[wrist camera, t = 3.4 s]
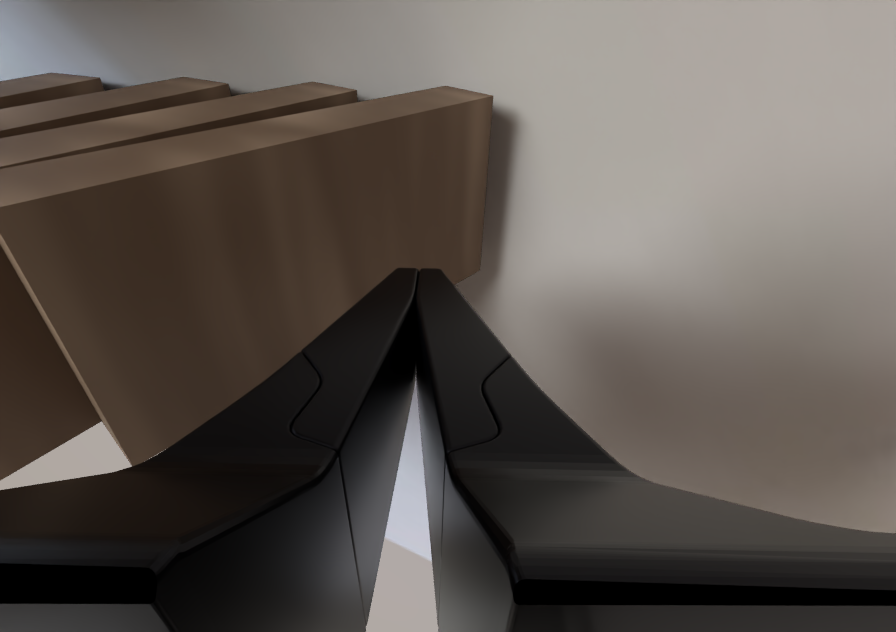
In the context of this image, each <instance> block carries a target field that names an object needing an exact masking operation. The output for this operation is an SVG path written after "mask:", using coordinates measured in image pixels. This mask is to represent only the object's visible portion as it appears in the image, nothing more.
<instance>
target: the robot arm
mask: <svg viewBox="0 0 896 632" xmlns="http://www.w3.org/2000/svg"><path fill="white" fill-rule="evenodd" d="M415 377H416V381H417V396H418V407H419V418H420V430H421V441H422V452H423V463H424V475H425V486H426V497H427V509H428V520H429V531H430V542H431V554H432V565H433V575H434V587H435V598H436V610H437V620H438V627H439V629H438V632H896V533H879V532H868V531H861V530H854V529H847V528H841V527H835V526H829V525H824V524H818V523H814V522H809V521H804V520H799V519H795V518H791V517H787V516H783V515H779V514H775V513H771V512H767V511H763V510H759V509H755V508H751V507H747V506H743V505H739V504H735V503H731V502H727V501H723V500H719V499H715V498H711V497H707V496H703V495H699V494H695V493H691V492H687V491H683V490H680V489H676V488H672V487H668V486H664V485H660V484H656V483H653V482H650V481H648V480H646V479H643V478H641V477H639V476H637V475H636V474H634V473H632V472H631V471H629V470H628V469H626V468H625V467H624V466H622V465H621V464H620V463H619V462H617V461H616V460H615V459H614V458H613V457H612V456H610V455H609V454H608V453H607V452H606V451H605V450H604V449H603V448H602V447H601V446H600V445H599V444H598V443H597V442H595V441H594V440H593V439H592V438H591V437H590V436H589V435H588V434H587V433H586V432H585V431H584V430H583V429H582V428H581V427H579V426H578V425H577V424H576V423H575V422H574V421H573V420H572V419H571V418H570V417H569V416H568V415H567V414H566V413H565V412H563V411H562V410H561V409H560V408H559V407H558V406H557V405H556V404H555V403H554V402H553V401H552V400H551V399H550V398H549V397H548V396H547V395H546V394H545V393H544V392H543V391H542V390H541V389H540V388H539V387H538V386H537V385H536V384H535V382H534V381H533V380H532V379H531V378H530V377H529V376H528V374H527V373H526V372H525V371H524V370H523V369H522V368H521V366H520V365H519V364H518V363H517V361H516V360H515V359H514V358H513V357H512V356H511V354H510V353H509V352H508V351H507V349H506V348H505V347H504V346H503V344H502V343H501V342H500V341H499V339H498V338H497V337H496V336H495V335H494V333H493V332H492V331H491V330H490V328H489V327H488V326H487V325H486V324H485V322H484V321H483V320H482V319H481V317H480V316H479V315H478V314H477V312H476V311H475V310H474V309H473V308H472V306H471V305H470V304H469V303H468V301H467V300H466V299H465V298H464V297H463V295H462V294H461V293H460V292H459V290H458V289H457V288H456V287H455V286H454V284H453V283H452V282H451V281H450V279H449V278H448V277H447V276H446V274H445V273H444V272H443V271H442V270H441V269H438V268H422V269H420V271H419V270H418V269H417V268H401V267H400V268H397V269H395V270H394V271H393V272H392V273H391V274H389V275H388V276H387V277H386V278H385V279H384V280H382V281H381V282H380V283H379V284H378V285H377V286H375V287H374V288H373V289H372V290H371V291H370V292H368V293H367V294H366V295H365V296H364V297H363V298H361V299H360V300H359V301H358V302H357V303H356V304H354V305H353V306H352V307H351V308H350V309H349V310H347V311H346V312H345V313H344V314H343V315H342V316H340V317H339V318H338V319H337V320H336V321H335V322H333V323H332V324H331V325H330V326H329V327H328V328H327V329H325V330H324V331H323V332H322V333H321V334H320V335H318V336H317V337H316V338H315V339H314V340H313V341H311V342H310V343H309V344H308V345H307V346H306V347H304V348H303V349H302V350H301V352H298V353H297V354H296V355H295V356H294V357H292V358H291V359H290V360H289V361H288V362H287V363H285V364H284V365H283V366H282V367H281V368H279V369H278V370H277V371H276V372H274V373H273V374H272V375H271V376H269V377H268V378H267V379H266V380H264V381H263V382H262V383H260V384H259V385H258V386H256V387H255V388H253V389H252V390H251V391H249V392H248V393H247V394H245V395H244V396H242V397H241V398H240V399H238V400H237V401H235V402H234V403H233V404H231V405H230V406H228V407H227V408H225V409H224V410H222V411H221V412H220V413H218V414H217V415H215V416H214V417H212V418H211V419H209V420H208V421H207V422H205V423H204V424H202V425H201V426H199V427H198V428H196V429H195V430H193V431H192V432H191V433H189V434H188V435H186V436H185V437H183V438H182V439H180V440H179V441H178V442H176V443H175V444H173V445H172V446H170V447H169V448H167V449H166V450H164V451H162V452H161V453H159V454H158V455H156V456H154V457H152V458H150V459H148V460H146V461H144V462H142V463H140V464H137V465H135V466H132V467H130V468H126V469H123V470H119V471H117V472H112V473H107V474H101V475H94V476H88V477H81V478H76V479H69V480H62V481H56V482H50V483H43V484H37V485H31V486H24V487H18V488H12V489H5V490H0V632H366V625H367V622H368V617H369V612H370V606H371V602H372V597H373V592H374V587H375V582H376V576H377V571H378V566H379V562H380V557H381V551H382V546H383V541H384V536H385V531H386V526H387V521H388V516H389V511H390V506H391V501H392V496H393V491H394V486H395V481H396V476H397V471H398V466H399V461H400V456H401V451H402V446H403V441H404V436H405V430H406V425H407V420H408V415H409V410H410V405H411V400H412V395H413V390H414V384H415Z"/></svg>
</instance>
